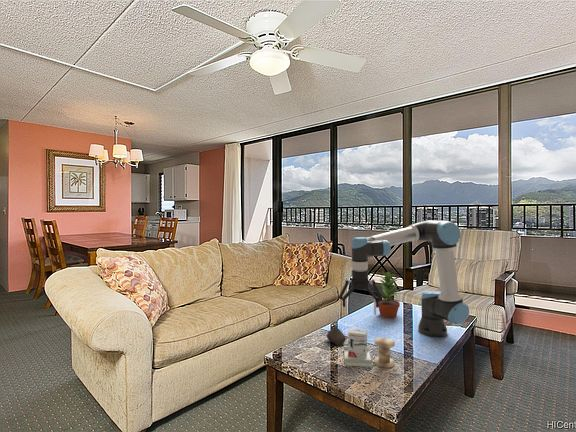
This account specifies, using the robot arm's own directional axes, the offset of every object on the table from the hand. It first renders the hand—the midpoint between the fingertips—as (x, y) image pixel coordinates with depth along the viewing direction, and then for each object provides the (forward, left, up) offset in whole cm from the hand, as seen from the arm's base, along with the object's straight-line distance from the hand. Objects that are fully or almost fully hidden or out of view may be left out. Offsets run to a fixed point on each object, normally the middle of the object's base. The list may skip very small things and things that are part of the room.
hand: (360, 313), depth 155 cm
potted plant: (-23, -62, -21) cm, 69 cm away
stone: (+11, -15, -21) cm, 28 cm away
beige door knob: (-10, +5, -21) cm, 24 cm away
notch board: (+2, +2, -21) cm, 21 cm away
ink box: (+2, +2, -20) cm, 20 cm away
